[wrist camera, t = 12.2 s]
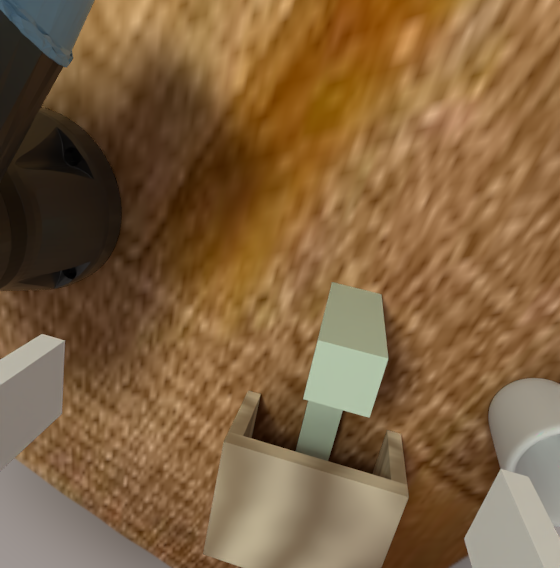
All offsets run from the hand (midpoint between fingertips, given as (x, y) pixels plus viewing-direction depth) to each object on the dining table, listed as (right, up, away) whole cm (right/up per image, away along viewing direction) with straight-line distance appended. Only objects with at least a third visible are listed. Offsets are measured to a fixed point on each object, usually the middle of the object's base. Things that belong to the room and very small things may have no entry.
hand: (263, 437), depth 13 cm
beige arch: (+3, -12, +27) cm, 30 cm away
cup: (+21, -4, +21) cm, 30 cm away
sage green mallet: (+5, -5, +25) cm, 26 cm away
